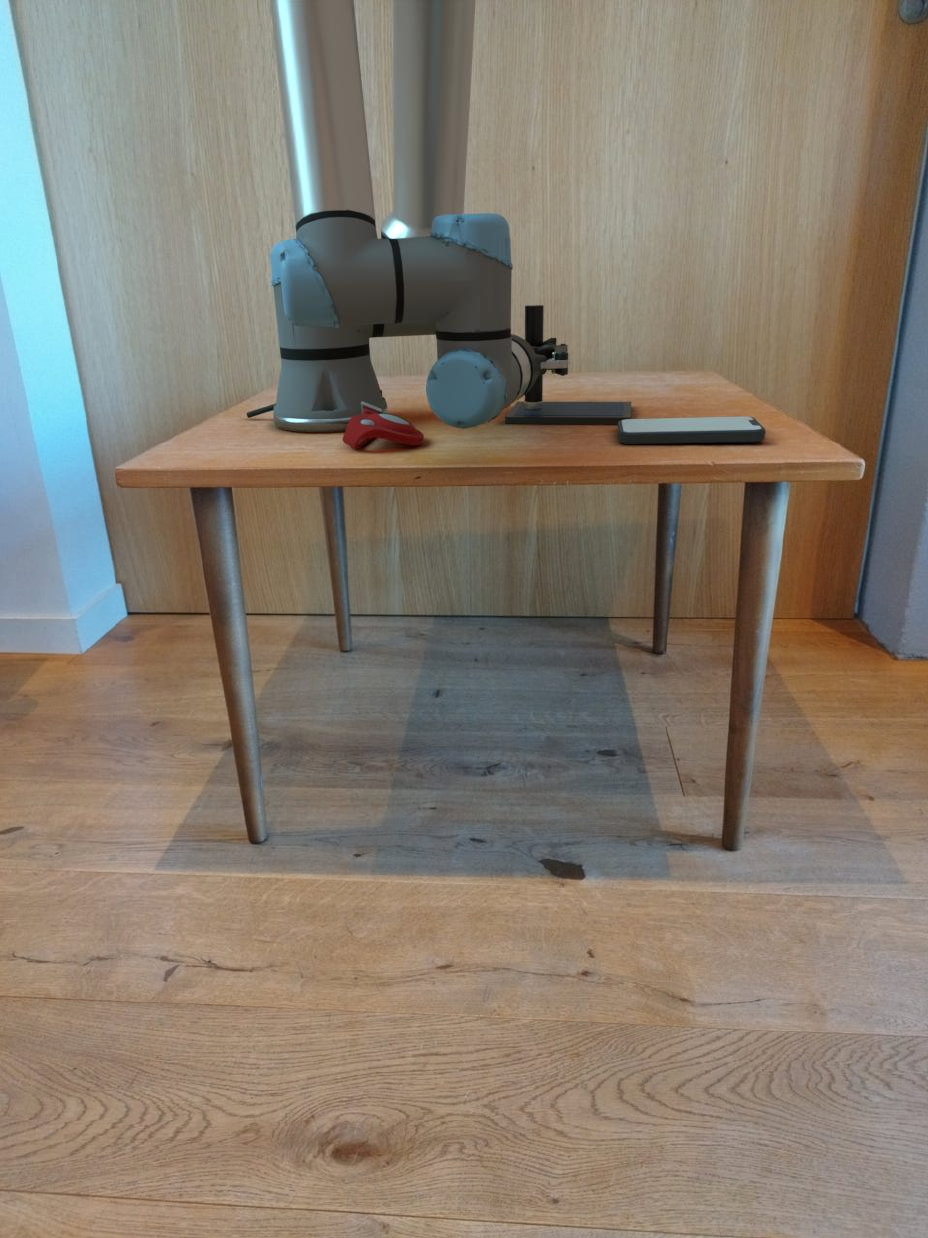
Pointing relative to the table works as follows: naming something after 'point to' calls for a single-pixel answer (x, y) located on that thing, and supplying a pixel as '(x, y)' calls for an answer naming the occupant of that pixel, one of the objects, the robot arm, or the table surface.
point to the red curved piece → (379, 428)
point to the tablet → (570, 413)
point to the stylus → (534, 338)
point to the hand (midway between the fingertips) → (542, 348)
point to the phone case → (690, 430)
